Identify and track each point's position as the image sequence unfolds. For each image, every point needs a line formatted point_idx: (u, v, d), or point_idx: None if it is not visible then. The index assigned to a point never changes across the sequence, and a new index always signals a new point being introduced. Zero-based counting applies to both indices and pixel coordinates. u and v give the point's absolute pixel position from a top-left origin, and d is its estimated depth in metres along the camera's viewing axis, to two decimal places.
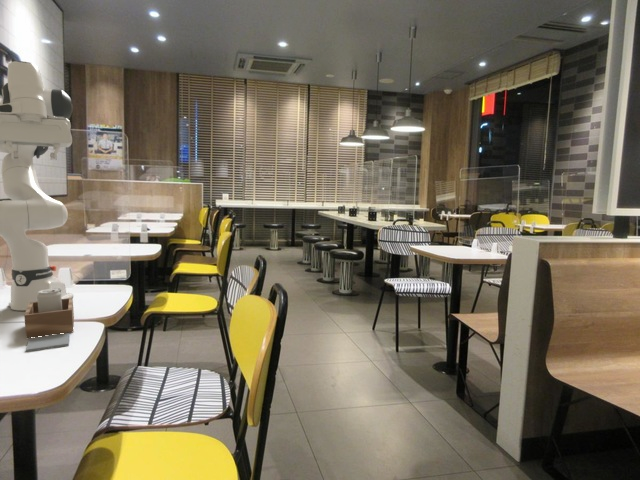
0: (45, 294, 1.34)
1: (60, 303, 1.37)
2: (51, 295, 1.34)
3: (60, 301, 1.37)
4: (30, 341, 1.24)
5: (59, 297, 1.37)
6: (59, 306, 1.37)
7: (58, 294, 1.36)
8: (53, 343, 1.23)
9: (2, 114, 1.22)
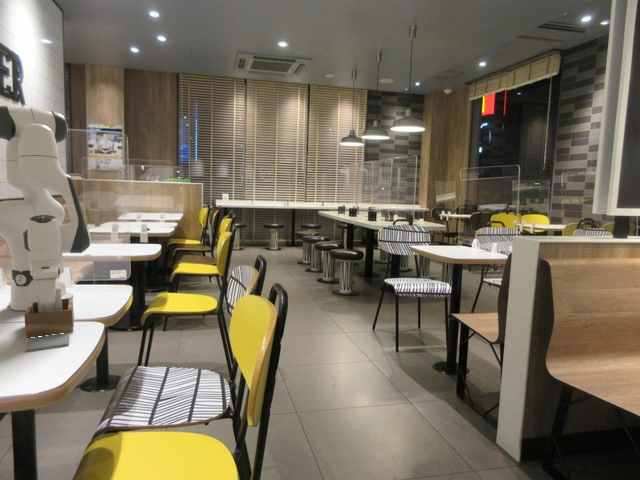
0: None
1: (60, 303, 1.37)
2: None
3: (60, 301, 1.37)
4: (30, 341, 1.24)
5: (59, 297, 1.37)
6: (59, 305, 1.37)
7: (58, 294, 1.36)
8: (53, 343, 1.23)
9: (56, 278, 1.31)
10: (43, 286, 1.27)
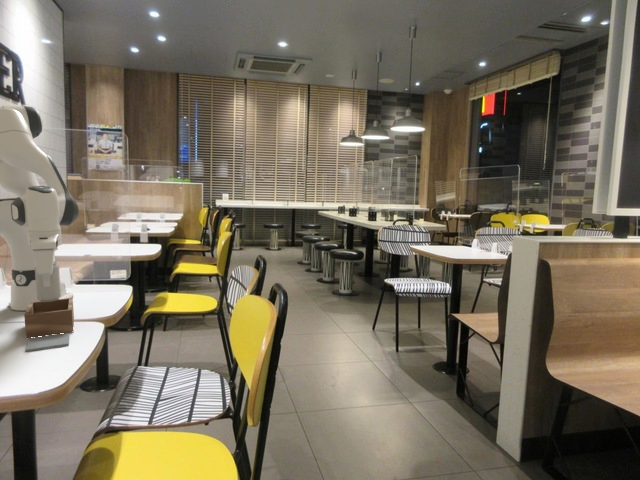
0: None
1: (58, 275, 1.37)
2: None
3: (58, 273, 1.37)
4: (30, 341, 1.24)
5: (57, 269, 1.36)
6: (57, 278, 1.36)
7: (56, 266, 1.36)
8: (53, 343, 1.23)
9: (54, 249, 1.30)
10: (41, 256, 1.26)
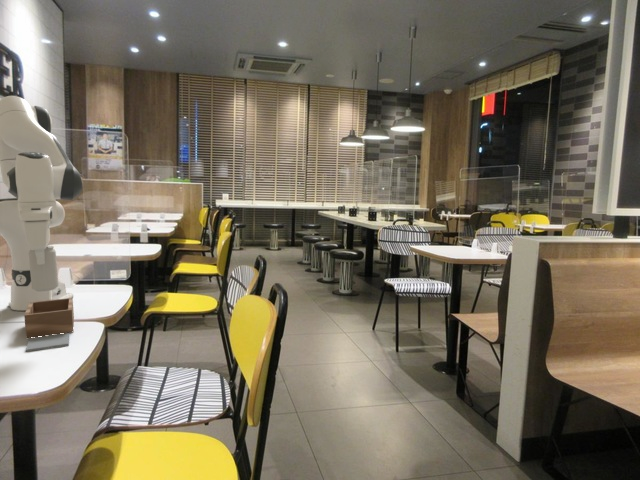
0: None
1: (53, 262, 1.22)
2: None
3: (53, 260, 1.22)
4: (30, 341, 1.24)
5: (52, 255, 1.21)
6: (52, 265, 1.21)
7: (51, 251, 1.21)
8: (53, 343, 1.23)
9: (48, 221, 1.16)
10: (33, 228, 1.12)
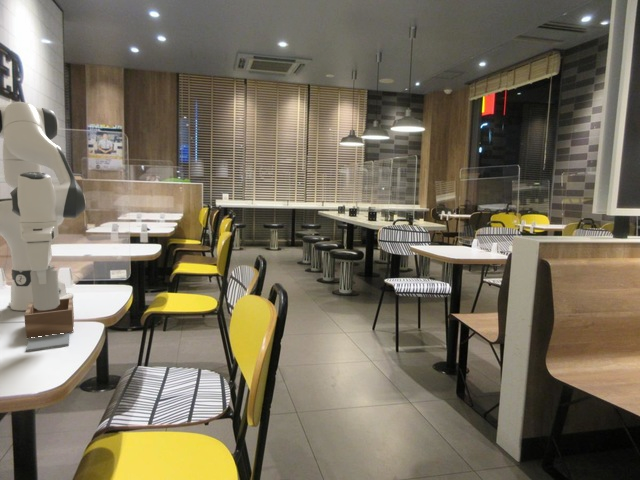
0: None
1: (55, 281, 1.23)
2: None
3: (55, 279, 1.23)
4: (30, 341, 1.24)
5: (54, 274, 1.22)
6: (53, 284, 1.22)
7: (52, 271, 1.22)
8: (53, 343, 1.23)
9: (50, 241, 1.17)
10: (35, 249, 1.13)
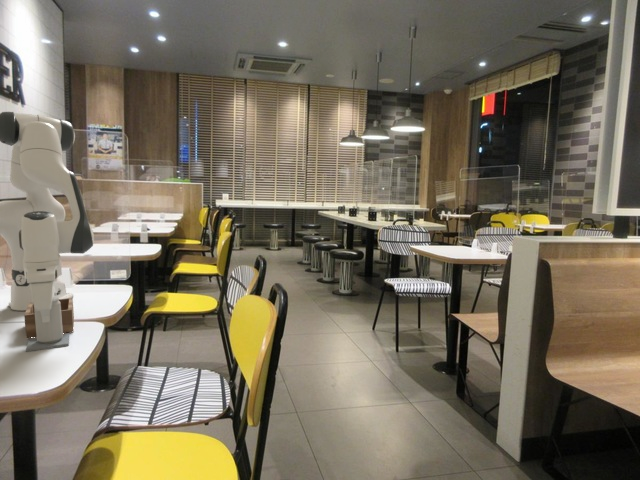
0: None
1: (58, 314, 1.24)
2: None
3: (58, 312, 1.24)
4: (30, 341, 1.24)
5: (57, 307, 1.23)
6: (57, 317, 1.23)
7: (56, 304, 1.23)
8: (53, 343, 1.23)
9: (53, 281, 1.18)
10: (38, 290, 1.14)
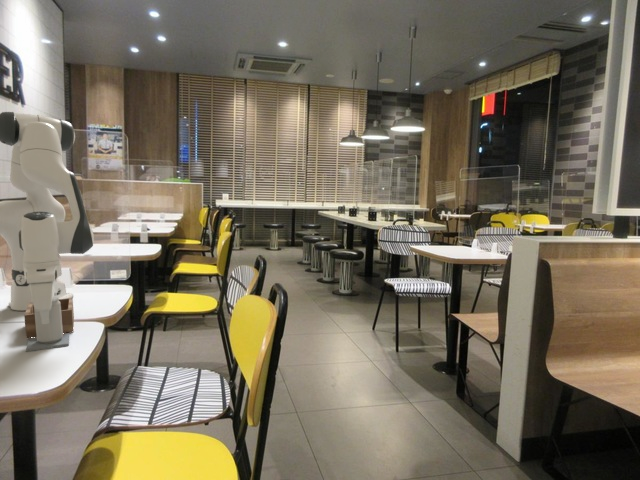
0: None
1: (58, 314, 1.24)
2: None
3: (58, 312, 1.24)
4: (30, 341, 1.24)
5: (57, 307, 1.23)
6: (57, 317, 1.23)
7: (56, 304, 1.23)
8: (53, 343, 1.23)
9: (53, 281, 1.18)
10: (38, 291, 1.14)
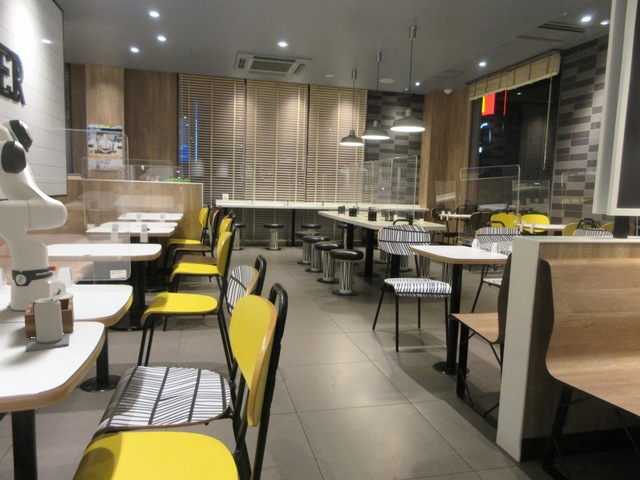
0: (41, 304, 1.21)
1: (58, 314, 1.24)
2: (47, 305, 1.21)
3: (58, 312, 1.24)
4: (30, 341, 1.24)
5: (57, 307, 1.23)
6: (57, 317, 1.23)
7: (56, 304, 1.23)
8: (53, 343, 1.23)
9: None
10: None
